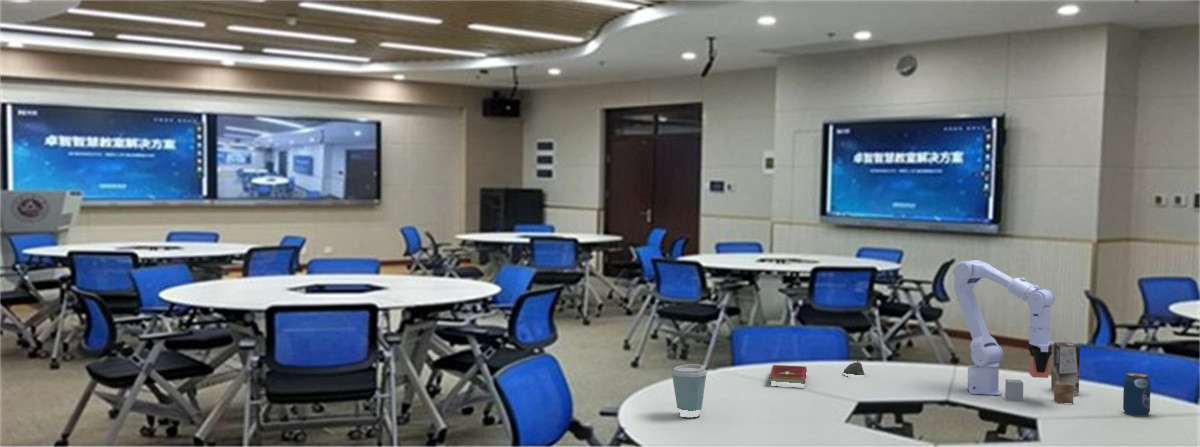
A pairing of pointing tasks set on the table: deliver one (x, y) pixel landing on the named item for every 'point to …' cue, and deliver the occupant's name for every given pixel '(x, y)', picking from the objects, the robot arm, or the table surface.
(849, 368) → the sword in stone
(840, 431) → the table surface
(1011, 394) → the grey block
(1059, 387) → the walnut block
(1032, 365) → the red block
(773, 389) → the table surface
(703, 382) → the disposable coffee cup
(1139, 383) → the soda can
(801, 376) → the hardcover book
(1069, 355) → the coffee box
